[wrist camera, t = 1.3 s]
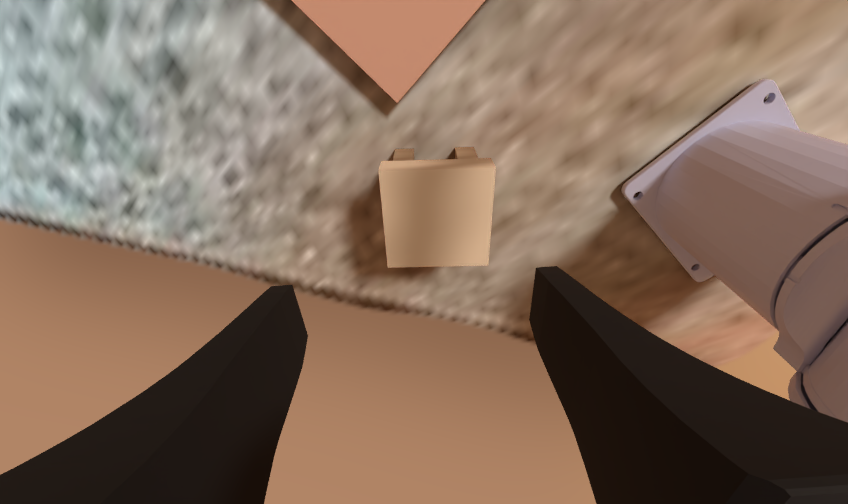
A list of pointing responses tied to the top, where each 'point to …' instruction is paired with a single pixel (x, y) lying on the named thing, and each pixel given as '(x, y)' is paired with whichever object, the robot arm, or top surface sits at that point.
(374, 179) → the top surface
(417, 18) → the mat
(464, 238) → the toy stool
